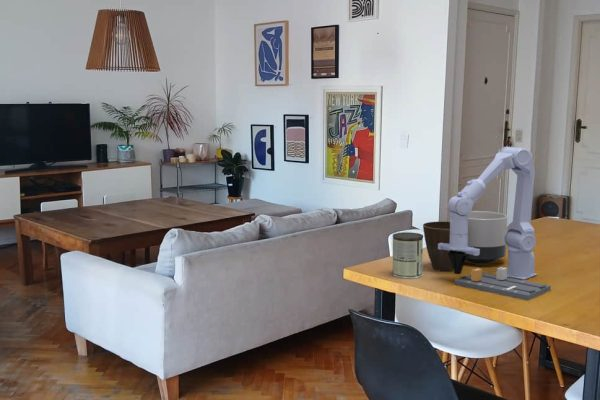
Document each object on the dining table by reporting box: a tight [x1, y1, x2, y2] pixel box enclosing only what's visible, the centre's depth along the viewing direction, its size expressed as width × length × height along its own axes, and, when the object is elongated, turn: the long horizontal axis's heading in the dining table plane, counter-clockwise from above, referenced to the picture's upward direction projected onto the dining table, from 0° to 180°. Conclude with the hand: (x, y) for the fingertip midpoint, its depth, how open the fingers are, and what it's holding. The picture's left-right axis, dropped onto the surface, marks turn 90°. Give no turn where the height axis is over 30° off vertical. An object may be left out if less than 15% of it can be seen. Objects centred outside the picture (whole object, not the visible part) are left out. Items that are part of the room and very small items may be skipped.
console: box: [454, 272, 552, 301], centre depth 201 cm, size 15×25×2 cm, turn 44°
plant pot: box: [422, 221, 454, 272], centre depth 225 cm, size 15×15×16 cm
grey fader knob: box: [496, 266, 508, 280], centre depth 204 cm, size 3×2×4 cm, turn 134°
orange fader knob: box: [470, 267, 483, 281], centre depth 203 cm, size 3×2×4 cm, turn 134°
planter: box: [465, 210, 508, 265], centre depth 236 cm, size 19×19×18 cm
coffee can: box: [392, 231, 424, 280], centre depth 217 cm, size 10×10×14 cm
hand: (457, 273), depth 208 cm, fingers closed
